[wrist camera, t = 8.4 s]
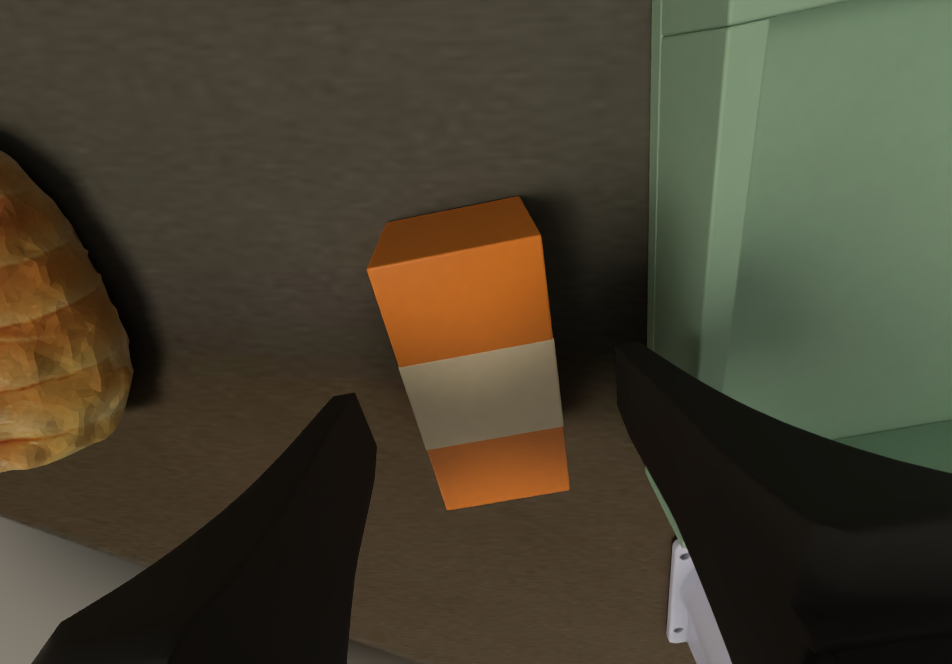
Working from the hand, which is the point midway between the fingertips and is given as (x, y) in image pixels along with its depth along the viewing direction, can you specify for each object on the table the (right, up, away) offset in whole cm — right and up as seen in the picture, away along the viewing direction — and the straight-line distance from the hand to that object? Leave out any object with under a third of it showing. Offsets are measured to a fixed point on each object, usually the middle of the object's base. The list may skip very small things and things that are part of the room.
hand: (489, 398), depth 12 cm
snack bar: (0, +2, +3) cm, 3 cm away
